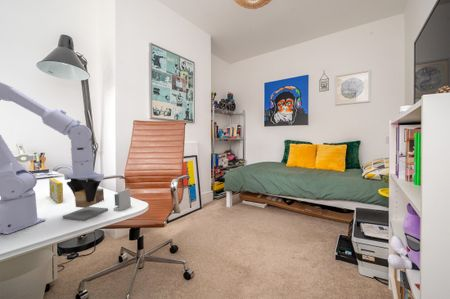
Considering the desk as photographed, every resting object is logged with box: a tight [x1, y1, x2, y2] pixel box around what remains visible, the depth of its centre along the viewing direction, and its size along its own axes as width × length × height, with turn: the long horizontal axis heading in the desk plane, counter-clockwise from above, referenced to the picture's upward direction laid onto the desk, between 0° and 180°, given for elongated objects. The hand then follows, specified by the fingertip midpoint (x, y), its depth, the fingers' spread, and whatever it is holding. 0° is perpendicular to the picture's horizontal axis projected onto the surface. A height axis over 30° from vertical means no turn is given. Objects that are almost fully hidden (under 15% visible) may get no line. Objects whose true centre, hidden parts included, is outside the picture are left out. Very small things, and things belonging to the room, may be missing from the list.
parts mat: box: [62, 206, 109, 222], centre depth 68 cm, size 9×9×1 cm
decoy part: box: [95, 187, 105, 204], centre depth 82 cm, size 4×4×5 cm
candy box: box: [48, 178, 64, 204], centre depth 86 cm, size 16×2×8 cm, turn 50°
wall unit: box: [113, 187, 132, 212], centre depth 73 cm, size 5×3×7 cm, turn 165°
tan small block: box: [74, 190, 97, 209], centre depth 68 cm, size 4×4×5 cm
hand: (85, 201), depth 68 cm, fingers closed on tan small block, 4 cm apart
